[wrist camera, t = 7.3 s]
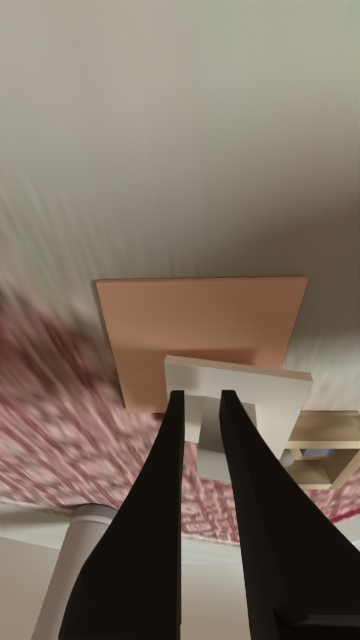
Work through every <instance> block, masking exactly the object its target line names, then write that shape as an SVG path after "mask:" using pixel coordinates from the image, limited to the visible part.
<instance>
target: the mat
mask: <svg viewBox="0 0 360 640" xmlns="http://www.w3.org/2000/svg"><path fill="white" fill-rule="evenodd" d="M308 280H309V279H308V278H306V277H305V276H302V277H241V278H179V279H117V280H98V281H97V282H96V286H97V290H98V295H99V299H100V303H101V307H102V311H103V315H104V319H105V323H106V327H107V332H108V336H109V340H110V344H111V348H112V352H113V356H114V360H115V364H116V369H117V373H118V377H119V381H120V385H121V389H122V393H123V397H124V401H125V406H126V410H127V413H166V410H167V406H168V400H167V389H166V378H165V367H164V360H165V358H166V355H172V356H180V357H188V358H196V359H204V360H212V361H219V362H227V363H235V364H243V365H251V366H259V367H267V368H275V369H281V366H282V363H283V359H284V356H285V353H286V350H287V347H288V344H289V340H290V337H291V334H292V331H293V328H294V324H295V321H296V318H297V315H298V312H299V308H300V305H301V302H302V299H303V296H304V292H305V289H306V286H307V283H308Z"/></svg>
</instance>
